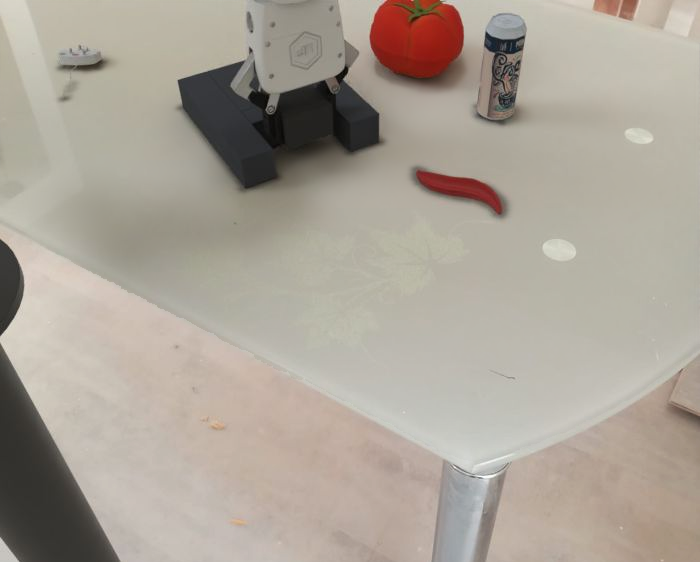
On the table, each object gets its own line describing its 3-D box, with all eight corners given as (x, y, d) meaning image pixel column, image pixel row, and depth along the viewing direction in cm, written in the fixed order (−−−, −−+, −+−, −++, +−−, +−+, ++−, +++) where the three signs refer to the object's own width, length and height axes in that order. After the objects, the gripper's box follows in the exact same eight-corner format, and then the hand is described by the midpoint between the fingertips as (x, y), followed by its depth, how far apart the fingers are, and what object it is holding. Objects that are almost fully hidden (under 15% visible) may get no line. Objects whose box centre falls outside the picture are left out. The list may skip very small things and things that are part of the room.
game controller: (101, 51, 111) (96, 33, 109) (107, 92, 104) (102, 74, 102) (61, 57, 110) (55, 39, 108) (64, 99, 103) (58, 81, 101)
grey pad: (245, 188, 89) (240, 159, 86) (182, 107, 101) (177, 79, 98) (379, 142, 95) (379, 113, 92) (305, 70, 106) (303, 42, 103)
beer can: (494, 127, 96) (506, 34, 87) (468, 111, 99) (477, 19, 90) (521, 114, 98) (536, 21, 89) (495, 98, 101) (507, 7, 92)
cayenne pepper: (513, 205, 86) (516, 191, 85) (486, 224, 84) (488, 210, 83) (435, 159, 92) (437, 146, 91) (408, 175, 90) (409, 162, 89)
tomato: (486, 66, 106) (494, 2, 100) (425, 102, 101) (429, 37, 94) (412, 32, 113) (414, -29, 106) (351, 64, 107) (349, 1, 101)
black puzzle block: (288, 149, 89) (285, 119, 86) (261, 119, 94) (257, 89, 91) (333, 134, 91) (332, 104, 88) (305, 105, 95) (303, 75, 92)
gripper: (224, 8, 73) (247, 167, 87) (381, -34, 78) (380, 122, 92) (194, -21, 77) (221, 134, 91) (345, -59, 83) (349, 93, 96)
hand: (301, 127), depth 91 cm, fingers closed on black puzzle block, 6 cm apart
